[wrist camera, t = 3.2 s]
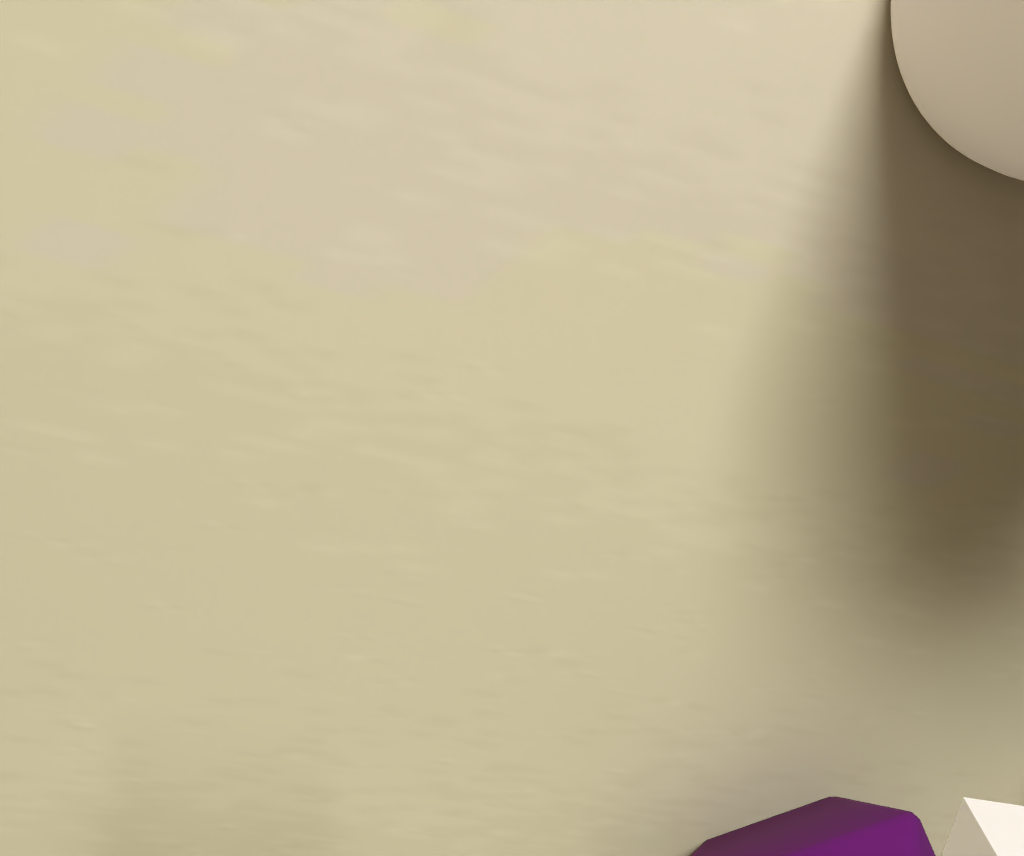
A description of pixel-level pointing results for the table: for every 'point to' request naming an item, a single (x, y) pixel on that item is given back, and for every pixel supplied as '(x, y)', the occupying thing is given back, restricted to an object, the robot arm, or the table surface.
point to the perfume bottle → (827, 833)
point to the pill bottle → (967, 74)
